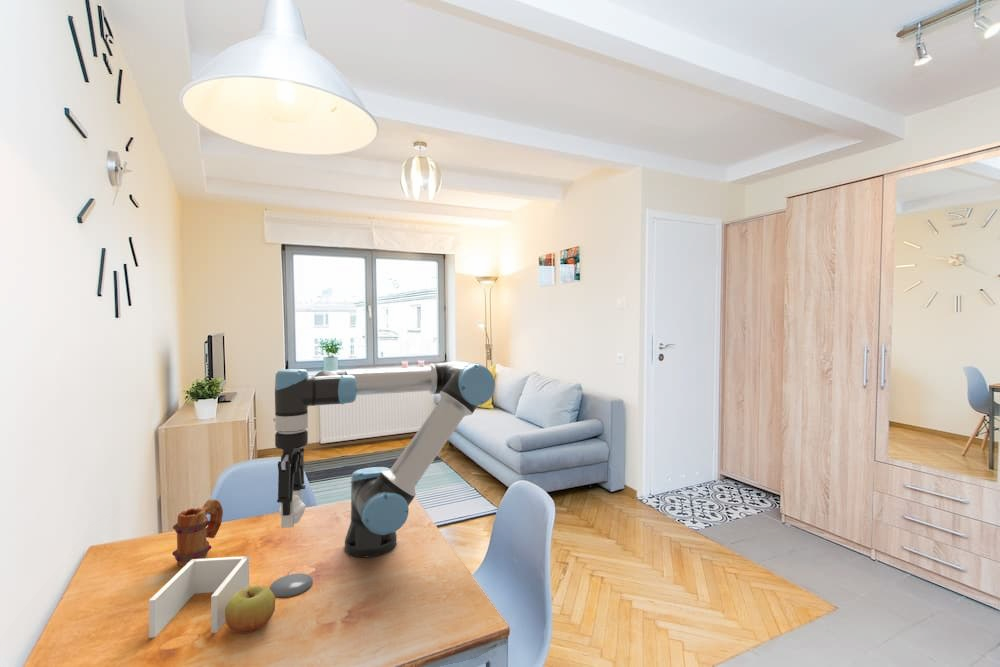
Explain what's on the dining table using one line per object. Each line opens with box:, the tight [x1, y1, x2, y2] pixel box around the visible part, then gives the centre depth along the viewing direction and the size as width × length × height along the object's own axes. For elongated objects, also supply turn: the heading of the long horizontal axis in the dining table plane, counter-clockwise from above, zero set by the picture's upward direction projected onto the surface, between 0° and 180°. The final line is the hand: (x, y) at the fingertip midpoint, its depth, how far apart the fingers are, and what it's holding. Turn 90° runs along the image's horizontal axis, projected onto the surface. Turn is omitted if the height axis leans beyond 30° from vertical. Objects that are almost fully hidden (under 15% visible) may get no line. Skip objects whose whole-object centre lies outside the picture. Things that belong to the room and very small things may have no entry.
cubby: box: [148, 555, 250, 639], centre depth 106 cm, size 13×17×8 cm
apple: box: [225, 584, 276, 634], centre depth 101 cm, size 10×10×8 cm
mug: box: [172, 498, 224, 567], centre depth 130 cm, size 15×8×15 cm, turn 168°
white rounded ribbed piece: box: [278, 495, 306, 525], centre depth 116 cm, size 6×6×7 cm
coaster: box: [268, 572, 313, 599], centre depth 117 cm, size 10×10×1 cm
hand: (291, 520), depth 116 cm, fingers closed on white rounded ribbed piece, 6 cm apart
